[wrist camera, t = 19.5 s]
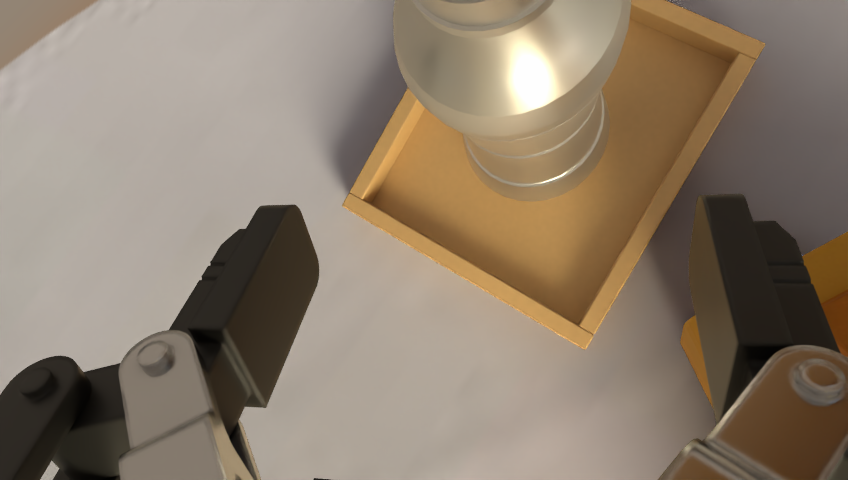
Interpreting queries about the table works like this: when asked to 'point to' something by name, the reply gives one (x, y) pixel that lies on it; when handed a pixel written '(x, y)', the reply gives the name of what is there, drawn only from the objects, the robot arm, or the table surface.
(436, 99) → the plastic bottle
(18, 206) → the table surface
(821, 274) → the flared yellow plastic housing
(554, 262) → the tray
